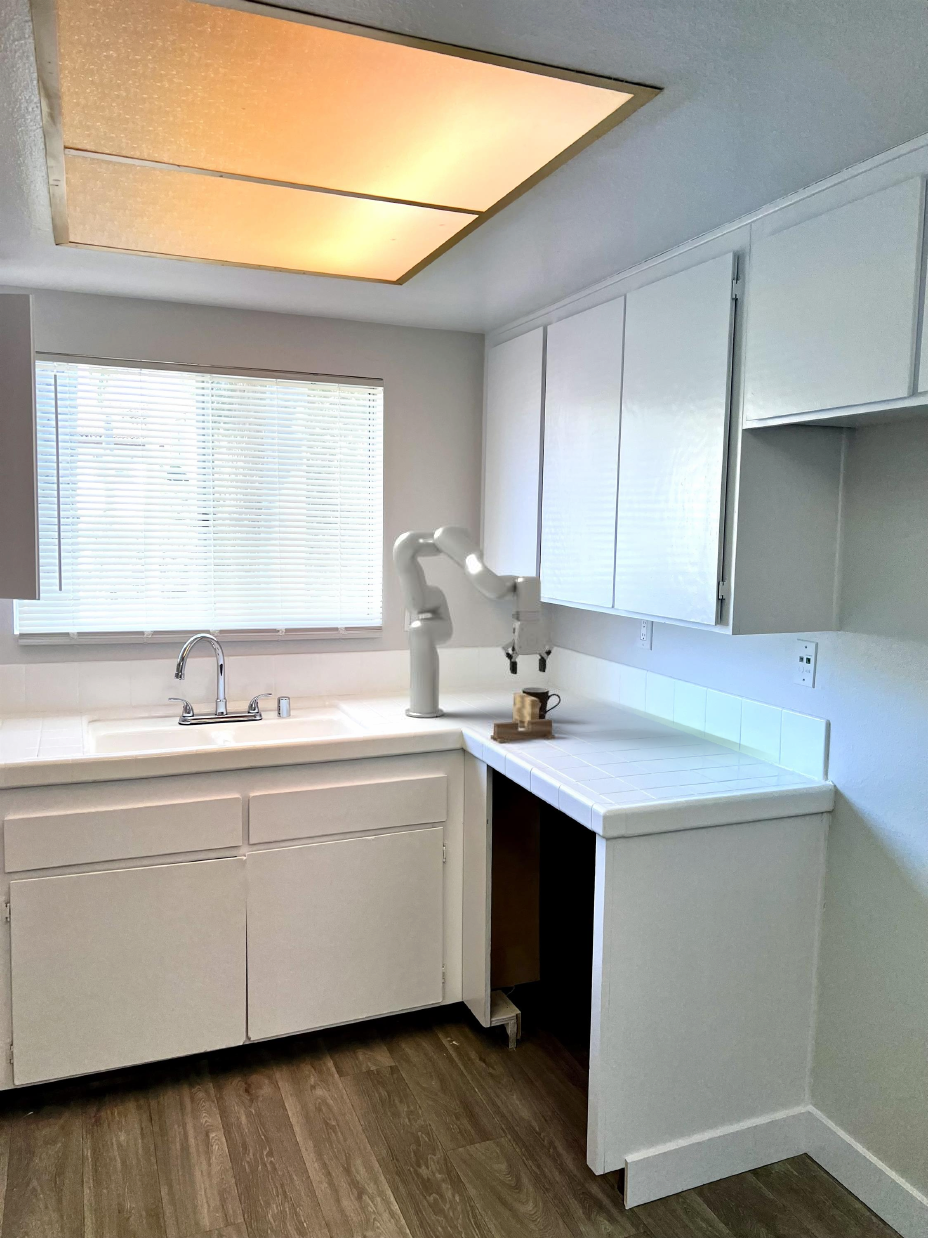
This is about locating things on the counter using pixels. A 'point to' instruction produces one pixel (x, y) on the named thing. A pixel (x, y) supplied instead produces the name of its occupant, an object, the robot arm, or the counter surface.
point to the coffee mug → (541, 699)
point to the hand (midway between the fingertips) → (528, 672)
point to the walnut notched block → (512, 732)
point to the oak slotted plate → (525, 709)
